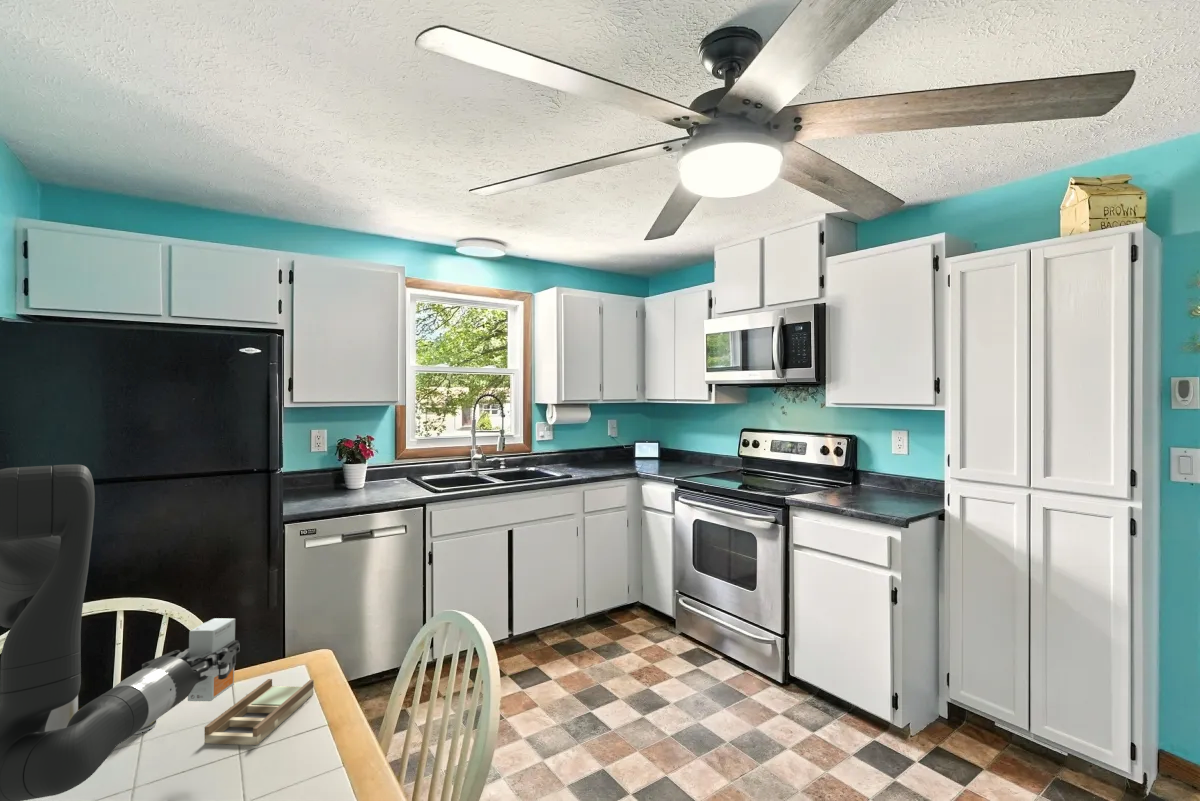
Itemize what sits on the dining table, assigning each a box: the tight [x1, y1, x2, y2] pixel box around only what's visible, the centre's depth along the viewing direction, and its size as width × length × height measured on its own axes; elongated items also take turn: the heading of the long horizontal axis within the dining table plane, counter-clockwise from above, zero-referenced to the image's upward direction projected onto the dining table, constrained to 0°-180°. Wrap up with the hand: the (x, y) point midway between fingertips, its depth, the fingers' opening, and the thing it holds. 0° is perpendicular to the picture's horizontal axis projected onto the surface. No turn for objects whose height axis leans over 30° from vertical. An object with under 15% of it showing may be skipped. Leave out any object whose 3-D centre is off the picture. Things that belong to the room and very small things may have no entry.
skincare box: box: [187, 617, 236, 702], centre depth 98 cm, size 6×4×12 cm
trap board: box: [204, 678, 314, 746], centre depth 111 cm, size 10×18×3 cm, turn 177°
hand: (222, 646), depth 101 cm, fingers closed on skincare box, 4 cm apart
